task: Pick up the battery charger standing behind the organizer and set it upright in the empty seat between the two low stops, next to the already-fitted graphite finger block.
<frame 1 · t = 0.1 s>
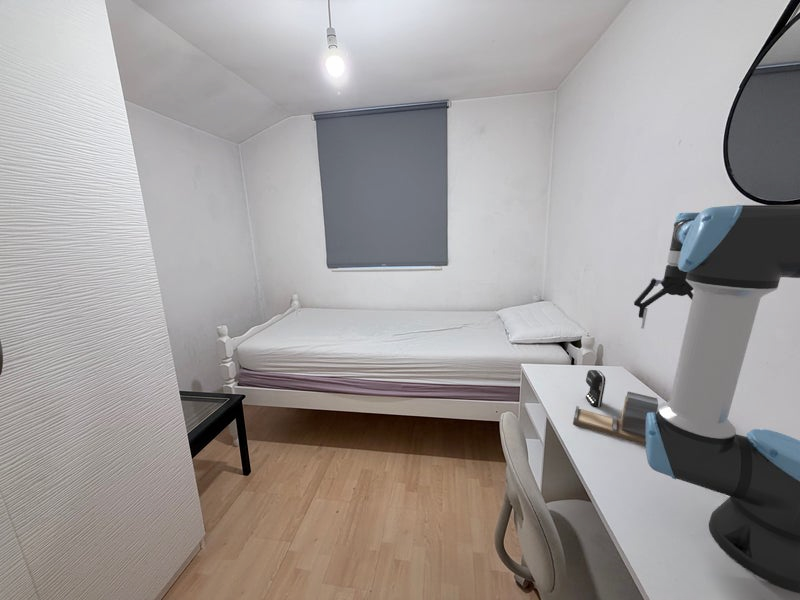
hand: (668, 331, 103), 28 cm above the table, fingers open, 13 cm apart
organizer: (613, 428, 99), on the table
battery charger: (591, 402, 114), on the table
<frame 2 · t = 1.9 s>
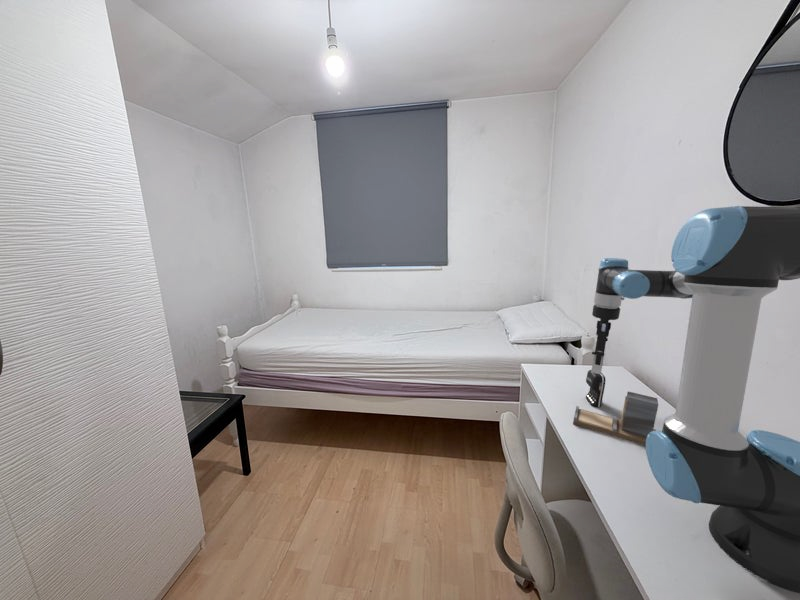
hand: (597, 365, 111), 14 cm above the table, fingers open, 13 cm apart
nothing on the table moved.
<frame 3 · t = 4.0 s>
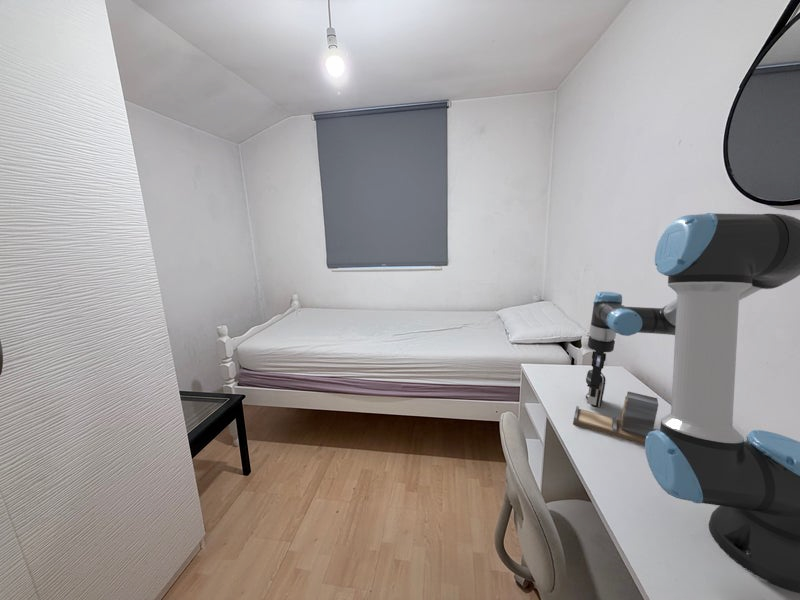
hand: (592, 398, 114), 1 cm above the table, fingers closed on battery charger, 7 cm apart
battery charger: (591, 402, 114), on the table, touching gripper
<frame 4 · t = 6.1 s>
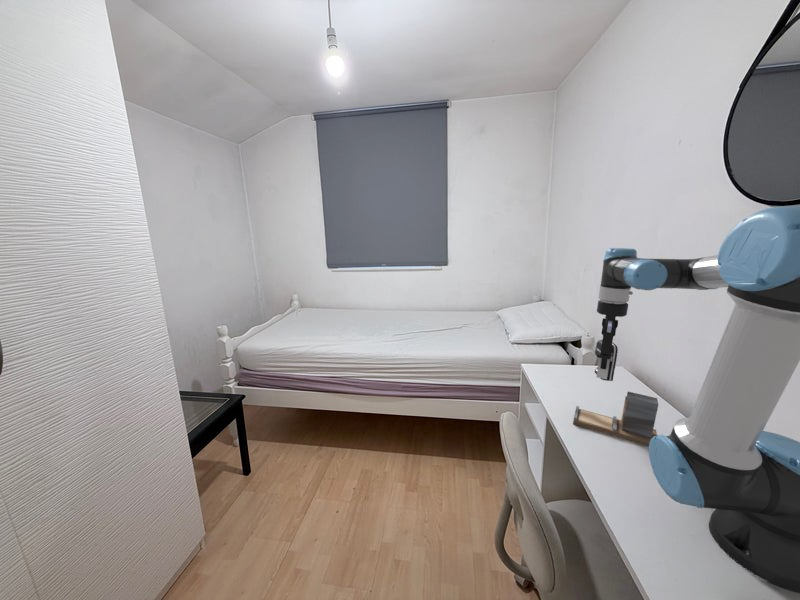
hand: (602, 373, 100), 16 cm above the table, fingers closed on battery charger, 7 cm apart
battery charger: (601, 377, 100), point 15 cm above the table, touching gripper
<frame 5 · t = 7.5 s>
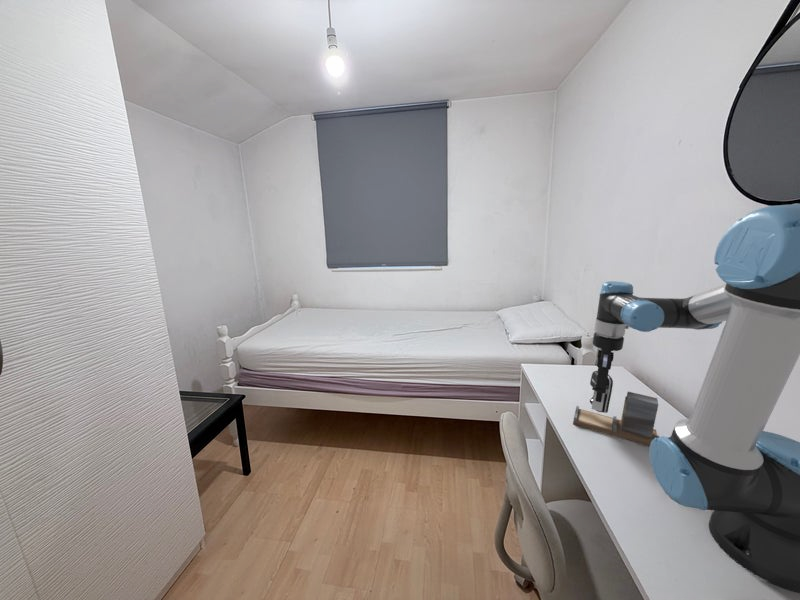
hand: (597, 403, 100), 7 cm above the table, fingers closed on battery charger, 7 cm apart
battery charger: (596, 407, 101), point 6 cm above the table, touching gripper
when the fingers open (4 cm above the table, at t = 8.5 s): battery charger drops 1 cm, resting on organizer.
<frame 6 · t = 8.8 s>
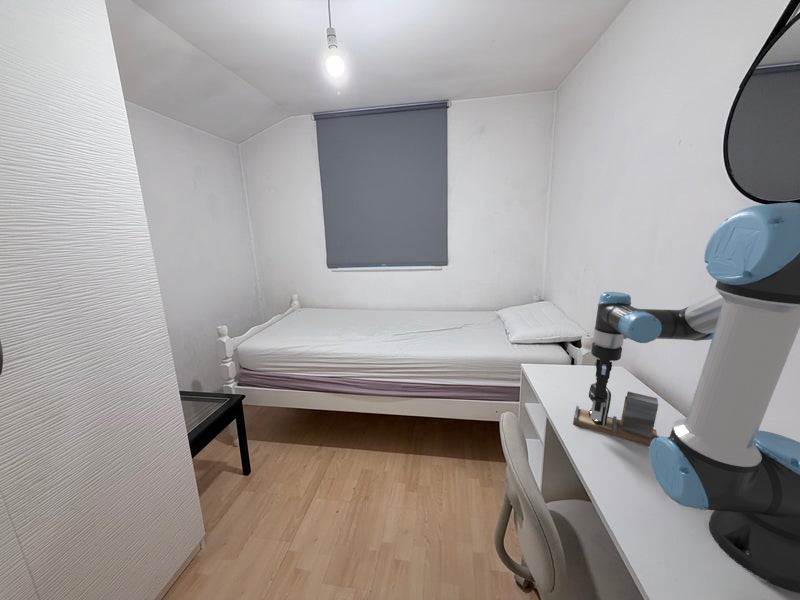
hand: (596, 409, 101), 5 cm above the table, fingers open, 11 cm apart
battery charger: (594, 420, 101), point 1 cm above the table, touching organizer
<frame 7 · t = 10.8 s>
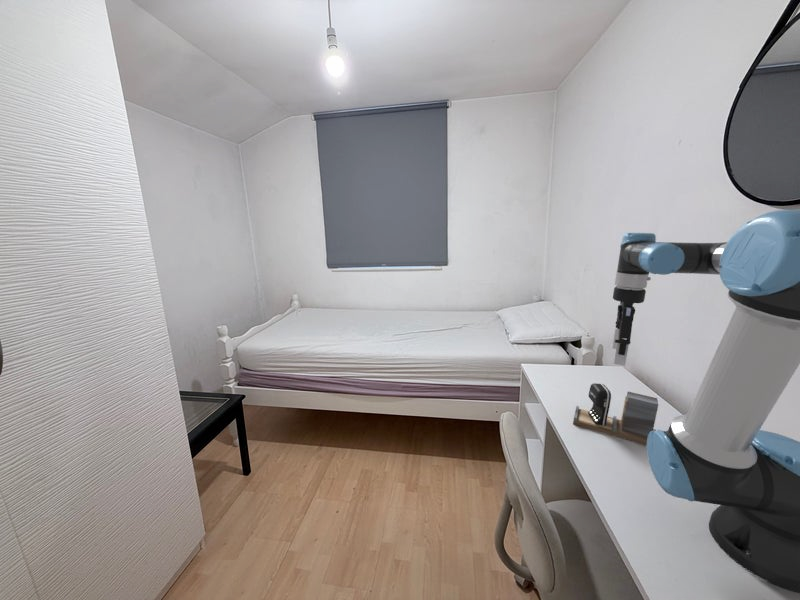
hand: (618, 356, 98), 22 cm above the table, fingers open, 13 cm apart
nothing on the table moved.
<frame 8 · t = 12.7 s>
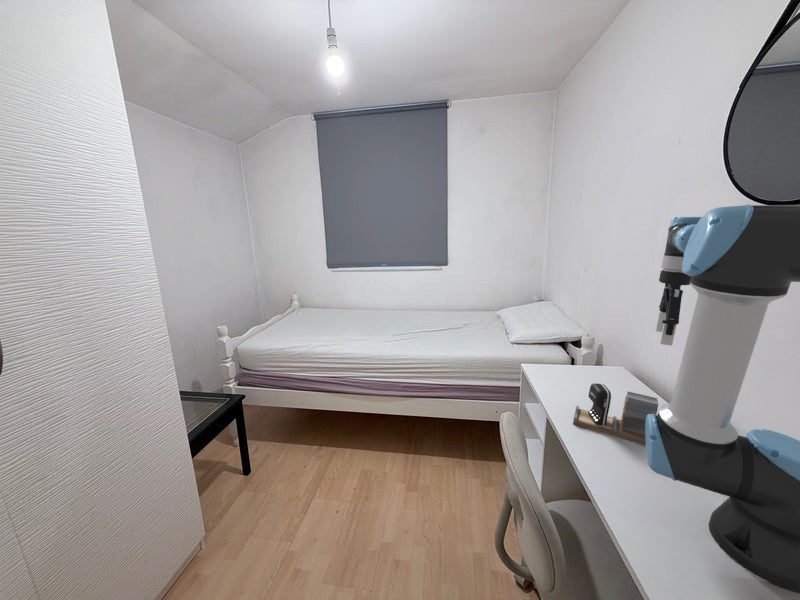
hand: (663, 337, 101), 27 cm above the table, fingers open, 13 cm apart
nothing on the table moved.
at the end: battery charger inside the target area on the organizer (0.3 cm from its centre), point 1.4 cm above the organizer's base; battery charger tilted 0°; the gripper is holding nothing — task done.
